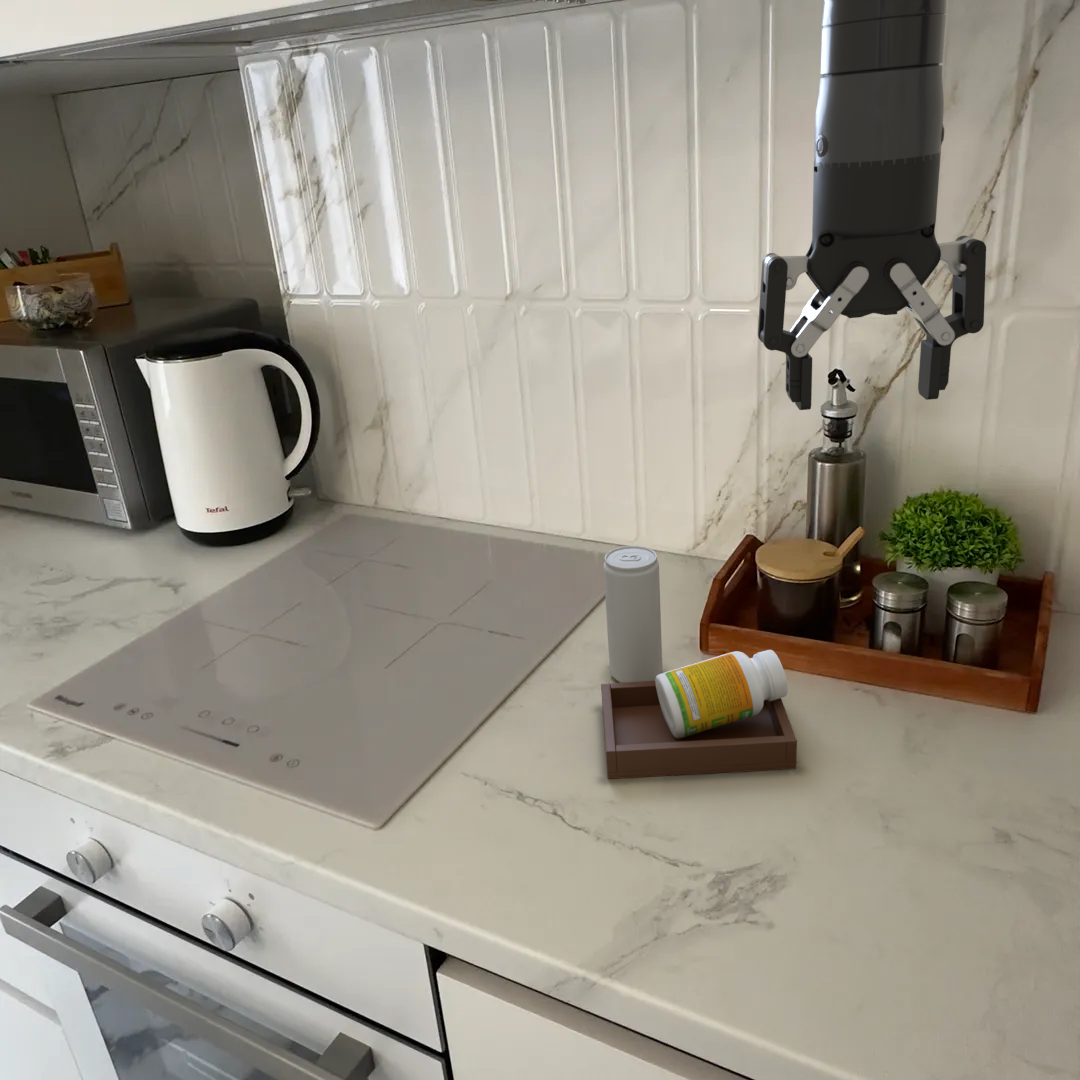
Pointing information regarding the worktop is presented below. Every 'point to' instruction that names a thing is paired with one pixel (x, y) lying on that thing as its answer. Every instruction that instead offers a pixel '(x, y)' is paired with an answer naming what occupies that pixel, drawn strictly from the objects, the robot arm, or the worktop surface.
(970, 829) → the worktop surface
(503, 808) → the worktop surface
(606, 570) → the beverage can
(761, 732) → the tray
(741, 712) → the supplement bottle
